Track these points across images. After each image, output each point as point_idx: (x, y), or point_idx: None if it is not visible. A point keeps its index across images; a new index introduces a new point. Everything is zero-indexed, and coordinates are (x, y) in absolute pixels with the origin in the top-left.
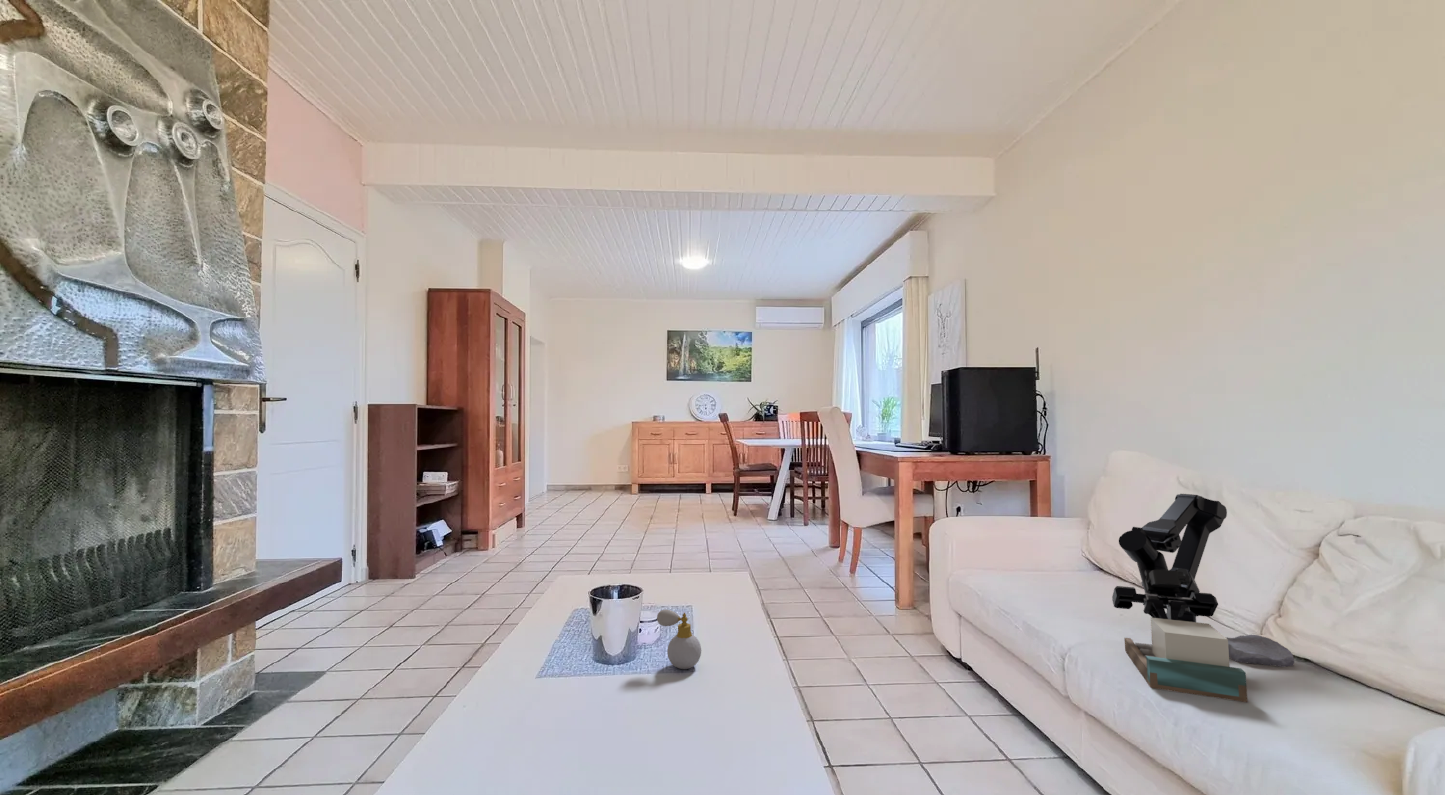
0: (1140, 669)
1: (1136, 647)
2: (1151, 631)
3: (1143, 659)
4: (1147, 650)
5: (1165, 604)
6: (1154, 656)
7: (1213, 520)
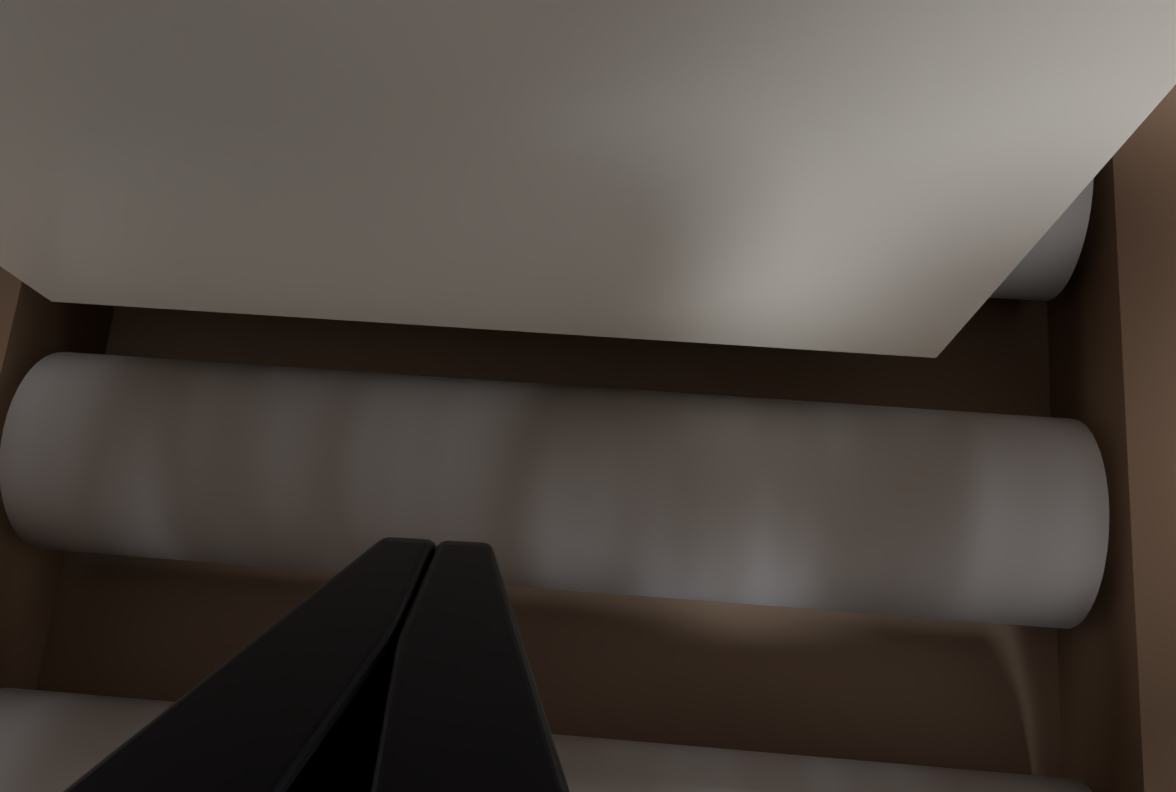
0: None
1: (1158, 630)
2: (1106, 151)
3: None
4: (995, 467)
5: None
6: None
7: None
